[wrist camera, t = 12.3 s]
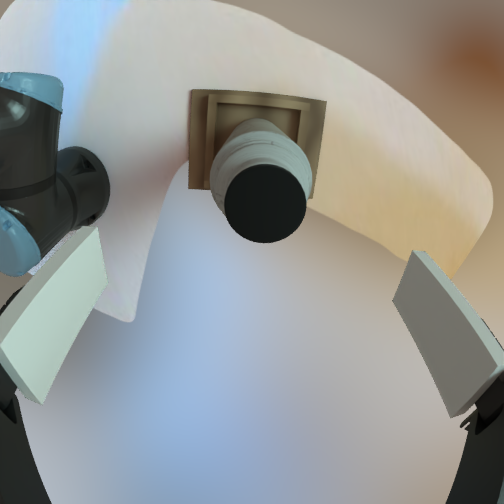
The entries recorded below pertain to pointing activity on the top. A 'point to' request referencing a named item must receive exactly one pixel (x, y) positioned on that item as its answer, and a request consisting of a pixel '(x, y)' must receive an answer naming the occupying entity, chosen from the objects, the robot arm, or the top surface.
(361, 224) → the top surface
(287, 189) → the thermos bottle
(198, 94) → the brown wooden tray
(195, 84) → the top surface
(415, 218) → the top surface
